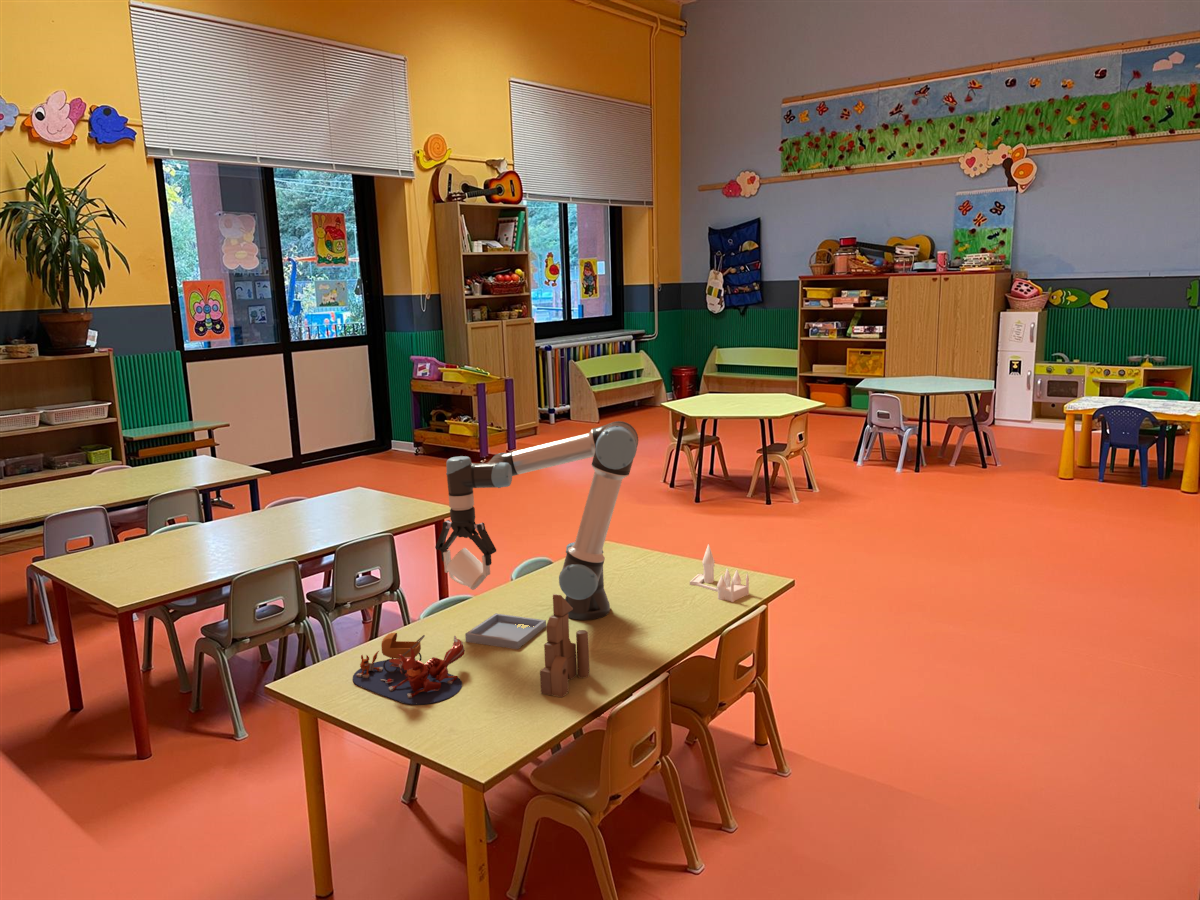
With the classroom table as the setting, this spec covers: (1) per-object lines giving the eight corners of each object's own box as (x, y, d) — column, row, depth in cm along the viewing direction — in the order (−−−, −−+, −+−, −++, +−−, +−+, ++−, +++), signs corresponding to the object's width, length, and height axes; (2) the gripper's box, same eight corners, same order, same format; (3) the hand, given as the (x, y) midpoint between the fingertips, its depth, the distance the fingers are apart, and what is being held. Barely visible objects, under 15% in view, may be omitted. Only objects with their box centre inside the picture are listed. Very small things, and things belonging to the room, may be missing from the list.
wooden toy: (562, 698, 229) (558, 606, 224) (540, 693, 232) (536, 602, 227) (591, 675, 242) (588, 587, 238) (570, 670, 245) (567, 584, 241)
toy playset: (338, 678, 246) (334, 630, 243) (411, 646, 266) (408, 602, 264) (423, 711, 225) (419, 659, 222) (495, 674, 245) (493, 626, 243)
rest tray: (546, 628, 276) (545, 620, 276) (518, 650, 260) (517, 641, 260) (496, 621, 284) (495, 613, 283) (465, 641, 267) (465, 633, 267)
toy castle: (700, 581, 316) (700, 538, 313) (757, 598, 298) (757, 551, 295) (673, 592, 306) (672, 547, 304) (730, 609, 288) (730, 561, 286)
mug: (494, 564, 276) (469, 544, 277) (480, 574, 268) (455, 553, 269) (478, 589, 280) (454, 569, 282) (464, 600, 272) (439, 578, 274)
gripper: (504, 506, 268) (509, 573, 272) (434, 502, 279) (440, 566, 283) (491, 512, 262) (496, 580, 265) (420, 508, 272) (426, 573, 276)
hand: (467, 574), depth 274 cm, fingers closed on mug, 13 cm apart
